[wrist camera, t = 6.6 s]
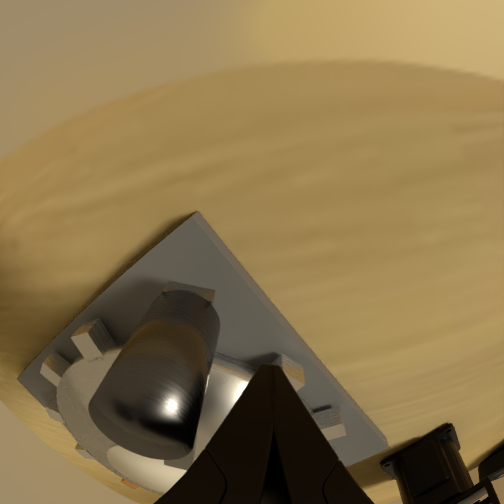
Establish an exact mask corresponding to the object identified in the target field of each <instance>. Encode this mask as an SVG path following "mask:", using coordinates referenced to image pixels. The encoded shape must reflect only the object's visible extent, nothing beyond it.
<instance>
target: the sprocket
mask: <svg viewBox="0 0 504 504" xmlns="http://www.w3.org/2000/svg"><path fill="white" fill-rule="evenodd" d="M215 291H216V290H213V289H208V288H203V287H198V286H193V285H189V284H184V283H179V282H174V281H170V280H169V281H168V283H167V284H166V286H165V287H164V289H163V290H162V294H161V295H159V296H158V297H157V298H156V299H155V300H154V302H153V303H152V305H151V306H150V308H149V309H148V310H147V312H146V313H145V315H144V316H143V318H142V319H141V321H140V322H139V324H138V325H137V327H136V328H135V330H134V331H133V333H132V334H131V336H130V338H129V339H128V340H119V341H113V339H112V338H111V336H110V335H109V333H108V331H107V330H106V328H105V327H104V325H103V323H102V322H101V320H100V319H96V320H93V321H90V322H87V323H83V324H82V325H81V326H80V327H79V328H78V330H77V331H76V332H75V333H74V334H73V335H72V336H71V339H72V340H73V342H74V343H75V345H76V346H77V348H78V349H79V351H80V352H81V354H80V355H79V356H78V357H77V358H76V359H75V360H74V361H73V362H72V364H70V363H69V362H67V361H66V360H65V359H64V358H62V357H61V356H60V355H59V354H58V353H56V352H55V351H54V350H53V351H52V353H51V354H50V355H49V356H48V357H47V358H46V359H45V361H44V362H43V364H42V367H41V371H40V373H41V374H42V375H43V376H44V377H45V378H47V379H48V380H49V381H50V382H51V383H53V384H54V385H55V386H56V387H57V395H56V396H54V395H52V397H51V398H50V400H49V401H48V402H47V404H46V405H45V408H46V410H47V412H48V414H49V416H50V418H53V419H55V420H57V421H59V422H61V423H63V424H65V425H66V427H67V428H68V430H69V431H70V433H71V434H72V436H73V437H74V438H75V440H76V441H77V442H78V443H77V445H76V447H75V450H76V451H77V452H79V453H80V454H81V455H82V456H83V457H84V458H87V459H96V460H97V461H98V462H99V463H101V464H102V465H103V466H105V467H106V468H107V469H109V470H111V471H112V472H114V473H115V474H117V475H118V476H120V477H122V478H123V479H122V482H121V483H123V484H125V485H127V486H129V487H131V488H133V489H136V488H138V487H142V488H145V489H147V490H150V491H152V492H155V493H158V494H161V495H164V494H165V493H166V492H167V491H168V490H169V489H170V488H171V487H172V486H173V485H174V484H175V483H176V482H177V481H178V480H179V479H180V478H181V477H182V476H183V475H184V474H185V472H186V471H187V470H188V469H189V467H190V466H191V465H192V464H193V462H194V461H195V460H196V459H197V457H198V456H199V454H200V453H201V452H202V450H203V449H205V446H206V445H207V444H208V442H209V441H210V439H211V438H212V436H213V435H214V434H215V432H216V431H217V429H218V428H219V426H220V425H221V423H222V422H223V420H224V419H225V418H226V416H227V415H228V413H229V412H230V410H231V409H232V407H233V406H234V404H235V403H236V401H237V400H238V398H239V397H240V395H241V393H242V392H243V390H244V389H245V387H246V386H247V384H248V383H249V381H250V379H251V378H252V376H253V375H254V373H255V372H256V370H257V368H256V367H254V366H252V365H249V364H247V363H245V362H243V361H240V360H238V359H235V358H232V357H229V356H226V355H223V354H220V353H218V352H215V350H216V346H217V342H218V337H219V333H220V327H221V326H220V319H219V316H218V314H217V312H216V310H215V309H214V307H213V304H214V297H215ZM271 364H276V365H279V366H280V367H281V368H282V370H283V371H284V373H285V375H286V376H287V378H288V379H289V381H290V383H291V384H292V386H293V387H294V389H295V391H296V392H297V391H298V390H299V389H300V388H302V387H303V386H304V385H305V381H304V374H303V367H302V366H301V365H300V364H298V363H296V362H295V361H293V360H292V359H290V358H288V357H287V356H285V355H284V354H281V355H280V356H278V357H277V358H276V359H275V360H274V361H273V362H272V363H271ZM299 397H300V396H299ZM300 399H301V400H302V402H303V403H304V405H305V406H306V408H307V410H308V411H309V413H310V414H311V416H312V417H313V419H314V420H315V422H316V423H317V425H318V427H319V428H320V430H321V431H322V433H323V434H324V436H325V437H326V439H327V440H331V439H335V438H338V437H341V436H345V435H346V431H345V427H344V423H343V418H342V415H341V412H340V409H339V406H337V407H334V408H330V409H327V410H324V411H320V412H317V413H314V412H313V410H312V409H311V408H310V406H309V405H308V404H307V403H306V401H305V400H304V399H303V398H302V397H300ZM335 452H336V454H337V451H335Z"/></svg>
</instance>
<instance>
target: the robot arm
mask: <svg viewBox="0 0 504 504" xmlns="http://www.w3.org/2000/svg"><path fill="white" fill-rule="evenodd" d="M459 450H460V444H459V441H458V438H457V435H456V431H455V428H454V426H453V424H452V423H450V424H448V425H446V426H444V427H443V428H441V429H440V430H438V431H436V432H435V433H433V434H431V435H430V436H428V437H426V438H425V439H423V440H421V441H420V442H418V443H416V444H414V445H412V446H411V447H409V448H407V449H405V450H403V451H401V452H399V453H397V454H395V455H393V456H391V457H389V458H387V459H385V460H383V461H382V462H381V463H380V465H381V468H382V469H383V470H384V471H386V472H387V473H388V474H389V475H390V476H392V477H393V478H394V479H395V480H396V481H397V484H398V488H399V492H400V495H401V499H402V502H403V504H471V503H473V502H474V501H476V500H477V499H479V498H481V497H482V496H484V495H485V494H487V493H488V497H487V498H486V499H484V500H483V501H480V500H478V501H476V502H475V503H473V504H500V502H499V499H498V497H497V494H496V492H495V490H494V488H493V485H492V483H491V481H490V479H489V477H488V476H486V477H485V478H483V479H482V481H481V482H479V483H478V484H476V485H475V486H474V484H473V482H472V480H471V477H470V475H469V473H468V471H467V468H466V466H465V464H464V462H463V460H462V457H461V455H460V453H459ZM154 504H374V502H373V501H372V500H371V499H370V498H369V497H368V496H367V495H366V493H365V492H364V491H363V490H362V489H361V488H360V486H359V485H358V484H357V482H356V481H355V480H354V478H353V477H352V476H351V474H350V473H349V472H348V470H347V469H346V467H345V466H344V464H343V463H342V461H341V460H339V457H338V455H337V454H336V452H335V451H334V449H333V448H332V446H331V445H330V443H329V442H328V440H327V439H326V437H325V436H324V434H323V433H322V431H321V430H320V428H319V427H318V425H317V423H316V422H315V420H314V419H313V417H312V416H311V414H310V413H309V411H308V410H307V408H306V406H305V405H304V403H303V402H302V400H301V399H300V397H299V395H298V394H297V392H296V391H295V389H294V387H293V386H292V384H291V383H290V381H289V379H288V378H287V376H286V375H285V373H284V371H283V370H282V368H281V367H280V366H279V365H276V364H268V363H261V364H260V365H259V367H258V368H257V370H256V372H255V373H254V375H253V376H252V378H251V379H250V381H249V383H248V384H247V386H246V387H245V389H244V390H243V392H242V393H241V395H240V397H239V398H238V400H237V401H236V403H235V404H234V406H233V407H232V409H231V410H230V412H229V413H228V415H227V416H226V418H225V419H224V420H223V422H222V423H221V425H220V426H219V428H218V429H217V431H216V432H215V434H214V435H213V436H212V438H211V439H210V441H209V442H208V444H207V445H206V446H205V449H203V450H202V452H201V453H200V454H199V456H198V457H197V459H196V460H195V461H194V462H193V464H192V465H191V466H190V467H189V469H188V470H187V471H186V472H185V474H184V475H183V476H182V477H181V478H180V479H179V480H178V481H177V482H176V483H175V484H174V485H173V486H172V487H171V488H170V489H169V490H168V491H167V492H166V493H165V494H164V495H163V496H162V497H161V498H159V499H158V500H157V501H156V502H155V503H154Z"/></svg>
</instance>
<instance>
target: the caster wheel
mask: <svg viewBox="0 0 504 504" xmlns="http://www.w3.org/2000/svg"><path fill="white" fill-rule="evenodd" d="M478 472H479V482H481V481H482V479H483V478H485V477H486V476H488V477H489V479H490V481H493V480H496V479H499V478H501V477H503V476H504V450H502V451H500V452H499V453H497V454H495V455H494V456H492V457H490V458H488V459H487V460H486V461H484V462H483V463H482V464H481V465H480V466H479V467H478Z"/></svg>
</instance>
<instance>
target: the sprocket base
mask: <svg viewBox="0 0 504 504" xmlns="http://www.w3.org/2000/svg"><path fill="white" fill-rule="evenodd" d="M169 280H170V281H174V282H179V283H184V284H189V285H193V286H198V287H203V288H208V289H213V290H216V291H215V297H214V304H213V307H214V309H215V310H216V312H217V314H218V316H219V319H220V326H221V327H220V333H219V337H218V342H217V346H216V350H215V352H218V353H220V354H223V355H226V356H229V357H232V358H235V359H238V360H240V361H243V362H245V363H247V364H249V365H252V366H254V367H256V368H258V367H259V365H260V364H261V363H268V364H271V363H272V362H273V361H274V360H275V359H276V358H277V357H278V356H280V355H281V354H284V355H285V356H287V357H288V358H290V359H292V360H293V361H295V362H296V363H298V364H300V365H301V366H302V367H303V374H304V381H305V385H304V386H303V387H302V388H300V389H299V390H298V391H297V394H298V395H299V396H300V397H302V398H303V399H304V400H305V401H306V403H307V404H308V405H309V406H310V408H311V409H312V410H313V412H314V413H317V412H320V411H324V410H327V409H330V408H334V407H337V406H339V409H340V412H341V415H342V418H343V423H344V427H345V431H346V435H345V436H341V437H338V438H335V439H331V440H328V442H329V443H330V445H331V446H332V448H333V449H334V451H337V455H338V457H339V460H341V461H342V463H343V464H344V466H345V467H348V466H350V465H353V464H355V463H357V462H360V461H362V460H364V459H367V458H369V457H371V456H373V455H375V454H377V453H379V452H381V451H384V450H386V449H388V448H389V445H388V442H387V439H386V437H385V436H384V435H383V433H382V432H381V431H380V430H379V429H378V428H377V427H376V425H375V424H374V423H373V422H372V421H371V420H370V418H369V417H368V416H367V415H366V414H365V413H364V411H363V410H362V409H361V408H360V407H359V406H358V404H357V403H356V402H355V401H354V400H353V399H352V397H351V396H350V395H349V394H348V393H347V392H346V390H345V389H344V388H343V387H342V386H341V384H340V383H339V382H338V381H337V380H336V379H335V377H334V376H333V375H332V374H331V373H330V371H329V370H328V369H327V368H326V367H325V366H324V364H323V363H322V362H321V361H320V360H319V358H318V357H317V356H316V355H315V354H314V352H313V351H312V350H311V349H310V348H309V346H308V345H307V344H306V343H305V342H304V340H303V339H302V338H301V337H300V336H299V334H298V333H297V332H296V331H295V330H294V328H293V327H292V326H291V325H290V324H289V322H288V321H287V320H286V319H285V318H284V316H283V315H282V314H281V313H280V311H279V310H278V309H277V308H276V307H275V305H274V304H273V303H272V302H271V301H270V299H269V298H268V297H267V296H266V294H265V293H264V292H263V291H262V290H261V288H260V287H259V286H258V285H257V283H256V282H255V281H254V280H253V278H252V277H251V276H250V275H249V274H248V272H247V271H246V270H245V269H244V267H243V266H242V265H241V264H240V262H239V261H238V260H237V259H236V258H235V256H234V255H233V254H232V253H231V251H230V250H229V249H228V248H227V246H226V245H225V244H224V243H223V241H222V240H221V239H220V238H219V236H218V235H217V234H216V233H215V231H214V230H213V229H212V228H211V226H210V225H209V224H208V223H207V221H206V220H205V219H204V218H203V216H202V215H201V214H200V213H199V211H197V212H196V213H194V214H193V215H192V216H191V217H190V218H188V219H187V220H186V221H185V222H183V223H182V224H181V225H180V226H178V227H177V228H176V229H175V230H174V231H172V232H171V233H170V234H169V235H167V236H166V237H165V238H164V239H163V240H161V241H160V242H159V243H158V244H157V245H156V246H154V247H153V248H152V249H151V250H150V251H148V252H147V253H146V254H145V255H144V256H143V257H142V258H140V259H139V260H138V261H137V262H136V263H135V264H133V265H132V266H131V267H130V268H129V269H128V270H127V271H126V272H124V273H123V274H122V275H121V276H120V277H119V278H118V279H117V280H115V281H114V282H113V283H112V284H111V285H110V286H109V287H108V288H107V289H106V290H104V291H103V292H102V293H101V294H100V295H99V296H98V297H97V298H96V299H95V300H94V301H93V302H91V303H90V304H89V305H88V306H87V307H86V308H85V309H84V310H83V311H82V312H81V313H80V314H79V315H78V316H77V317H76V318H75V319H74V320H73V321H72V322H71V323H70V324H69V325H68V326H66V327H65V328H64V329H63V330H62V331H61V332H60V333H59V334H58V335H57V336H56V337H55V338H54V339H53V340H52V341H51V342H50V343H49V345H48V346H47V347H46V348H45V349H44V350H43V351H42V352H41V353H40V354H39V355H38V356H37V357H36V358H35V359H34V360H33V361H32V362H31V363H30V364H29V365H28V366H27V368H26V369H25V370H24V371H23V372H22V373H21V374H20V375H19V377H18V378H17V379H18V380H19V382H20V383H21V384H22V385H23V386H24V387H25V388H26V389H27V390H28V391H29V392H30V393H31V394H32V395H33V396H34V397H35V398H36V399H37V400H38V401H39V402H40V403H41V404H42V405H43V406H44V407H45V405H46V404H47V402H48V401H49V400H50V398H51V397H52V395H54V396H56V395H57V387H56V386H55V385H54V384H53V383H51V382H50V381H49V380H48V379H47V378H45V377H44V376H43V375H42V374H41V373H40V371H41V367H42V364H43V362H44V361H45V359H46V358H47V357H48V356H49V355H50V354H51V353H52V351H53V350H54V351H55V352H56V353H58V354H59V355H60V356H61V357H62V358H64V359H65V360H66V361H67V362H69V363H70V364H72V362H73V361H74V360H75V359H76V358H77V357H78V356H79V355H80V354H81V352H80V351H79V349H78V348H77V346H76V345H75V343H74V342H73V340H72V339H71V336H72V335H73V334H74V333H75V332H76V331H77V330H78V328H79V327H80V326H81V325H82V324H83V323H87V322H90V321H93V320H96V319H100V320H101V322H102V323H103V325H104V327H105V328H106V330H107V331H108V333H109V335H110V336H111V338H112V339H113V341H119V340H128V339H129V338H130V336H131V334H132V333H133V331H134V330H135V328H136V327H137V325H138V324H139V322H140V321H141V319H142V318H143V316H144V315H145V313H146V312H147V310H148V309H149V308H150V306H151V305H152V303H153V302H154V300H155V299H156V298H157V297H158V296H159V295H161V294H162V290H163V289H164V287H165V286H166V284H167V283H168V281H169ZM62 424H63V423H62ZM64 425H65V424H64ZM65 426H66V425H65Z"/></svg>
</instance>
